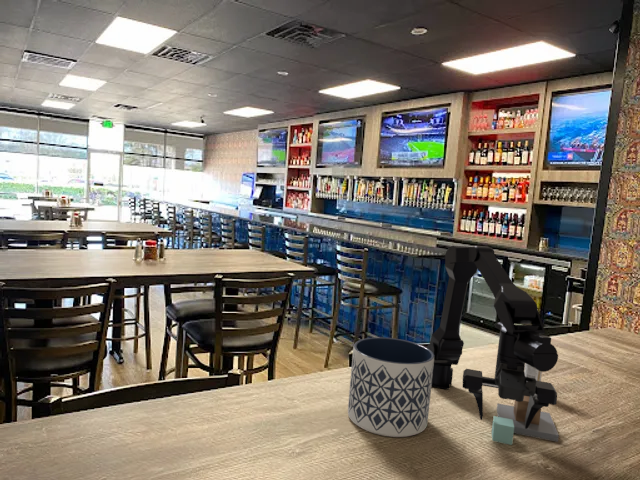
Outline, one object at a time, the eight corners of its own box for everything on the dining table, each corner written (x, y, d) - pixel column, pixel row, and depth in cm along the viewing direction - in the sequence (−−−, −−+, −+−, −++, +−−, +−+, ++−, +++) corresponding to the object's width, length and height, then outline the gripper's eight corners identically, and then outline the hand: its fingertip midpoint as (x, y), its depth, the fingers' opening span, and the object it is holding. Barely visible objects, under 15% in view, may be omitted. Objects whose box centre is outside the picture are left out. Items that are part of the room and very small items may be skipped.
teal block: (492, 441, 104) (494, 423, 104) (491, 432, 108) (493, 415, 108) (512, 445, 103) (514, 427, 103) (510, 436, 107) (512, 419, 107)
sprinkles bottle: (542, 393, 134) (548, 346, 133) (533, 396, 131) (539, 348, 130) (527, 387, 138) (533, 341, 136) (518, 389, 135) (523, 343, 134)
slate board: (500, 430, 109) (501, 423, 109) (496, 409, 121) (497, 403, 121) (557, 441, 106) (558, 435, 106) (548, 418, 118) (549, 412, 117)
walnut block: (515, 420, 112) (518, 399, 111) (513, 411, 117) (515, 391, 116) (539, 424, 110) (541, 404, 110) (535, 415, 115) (538, 395, 115)
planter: (376, 445, 98) (383, 367, 97) (333, 407, 114) (338, 340, 113) (444, 431, 107) (452, 359, 105) (395, 397, 123) (401, 335, 121)
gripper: (467, 358, 99) (458, 431, 100) (566, 374, 94) (556, 451, 95) (466, 343, 109) (459, 409, 111) (556, 357, 104) (547, 426, 106)
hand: (503, 423), depth 105 cm, fingers open, 9 cm apart
